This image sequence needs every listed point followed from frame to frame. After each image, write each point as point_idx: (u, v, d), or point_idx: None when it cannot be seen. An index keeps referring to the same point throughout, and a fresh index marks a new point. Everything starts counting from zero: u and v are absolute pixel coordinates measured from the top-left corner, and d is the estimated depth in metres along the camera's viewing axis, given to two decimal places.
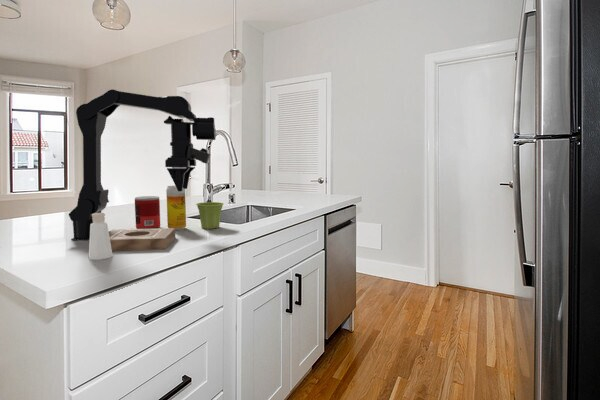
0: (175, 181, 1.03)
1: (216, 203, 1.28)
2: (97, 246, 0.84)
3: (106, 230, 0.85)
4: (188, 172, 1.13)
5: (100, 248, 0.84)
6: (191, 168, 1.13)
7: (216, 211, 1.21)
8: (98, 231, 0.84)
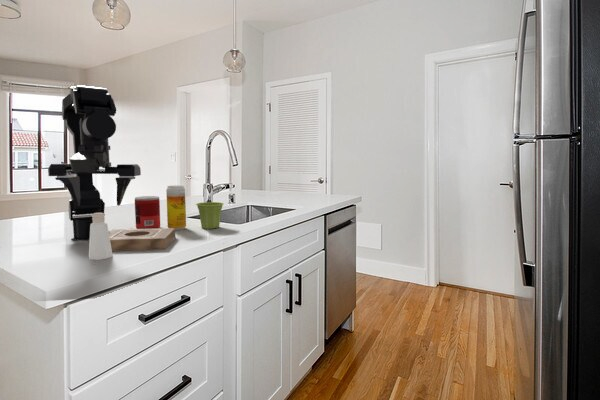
0: None
1: (216, 203, 1.28)
2: (97, 246, 0.84)
3: (106, 230, 0.85)
4: None
5: (100, 248, 0.84)
6: None
7: (216, 211, 1.21)
8: (98, 231, 0.84)
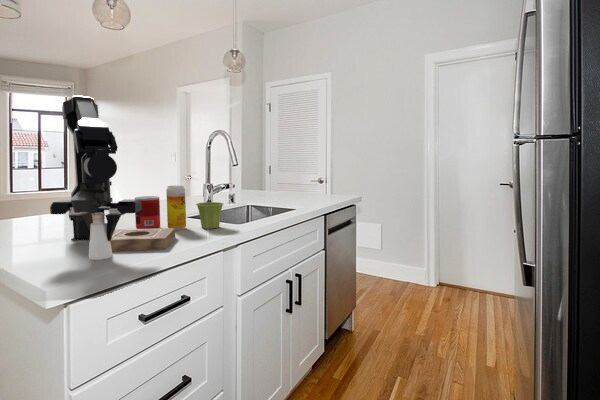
0: None
1: (216, 203, 1.28)
2: (97, 246, 0.84)
3: (106, 230, 0.85)
4: None
5: (100, 248, 0.84)
6: None
7: (216, 211, 1.21)
8: (98, 231, 0.84)
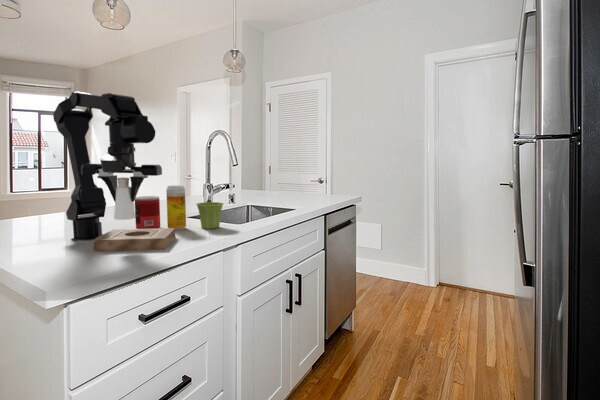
0: None
1: (216, 203, 1.28)
2: (122, 207, 0.92)
3: (130, 193, 0.94)
4: None
5: (125, 209, 0.92)
6: None
7: (216, 211, 1.21)
8: (123, 194, 0.92)
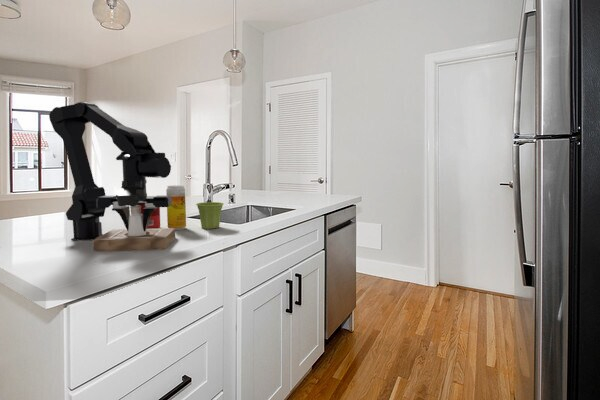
0: None
1: (216, 203, 1.28)
2: (136, 234, 0.97)
3: (142, 220, 0.99)
4: None
5: None
6: None
7: (216, 211, 1.21)
8: (136, 221, 0.97)
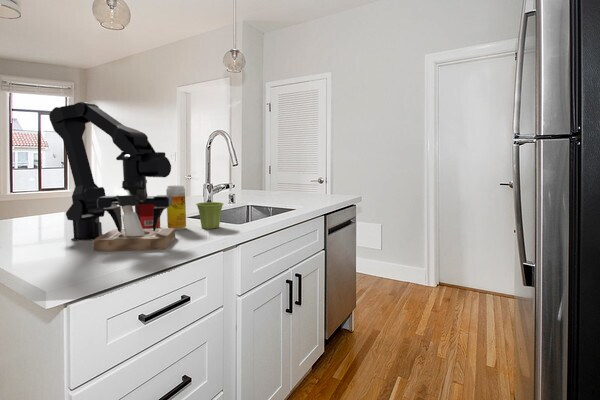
0: None
1: (216, 203, 1.28)
2: (133, 232, 0.97)
3: (136, 218, 0.99)
4: None
5: (135, 233, 0.97)
6: None
7: (216, 211, 1.21)
8: (130, 219, 0.97)
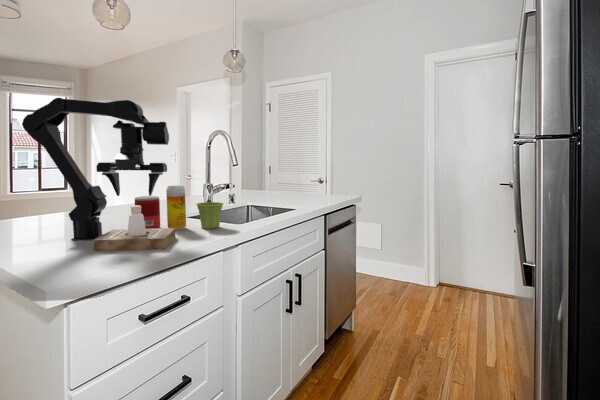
0: None
1: (216, 203, 1.28)
2: (136, 234, 0.97)
3: (142, 220, 0.99)
4: None
5: None
6: None
7: (216, 211, 1.21)
8: (136, 221, 0.97)
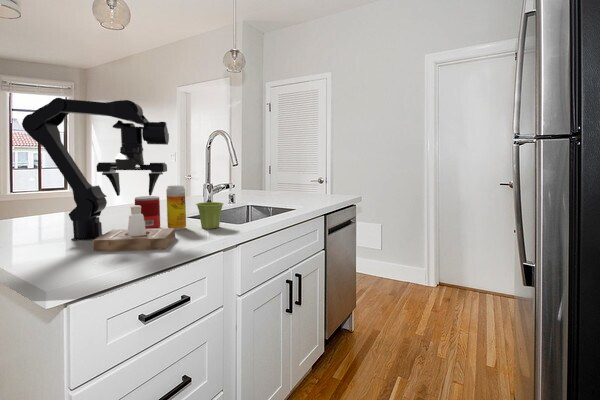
0: None
1: (216, 203, 1.28)
2: (136, 234, 0.97)
3: (142, 220, 0.99)
4: None
5: None
6: None
7: (216, 211, 1.21)
8: (136, 221, 0.97)
